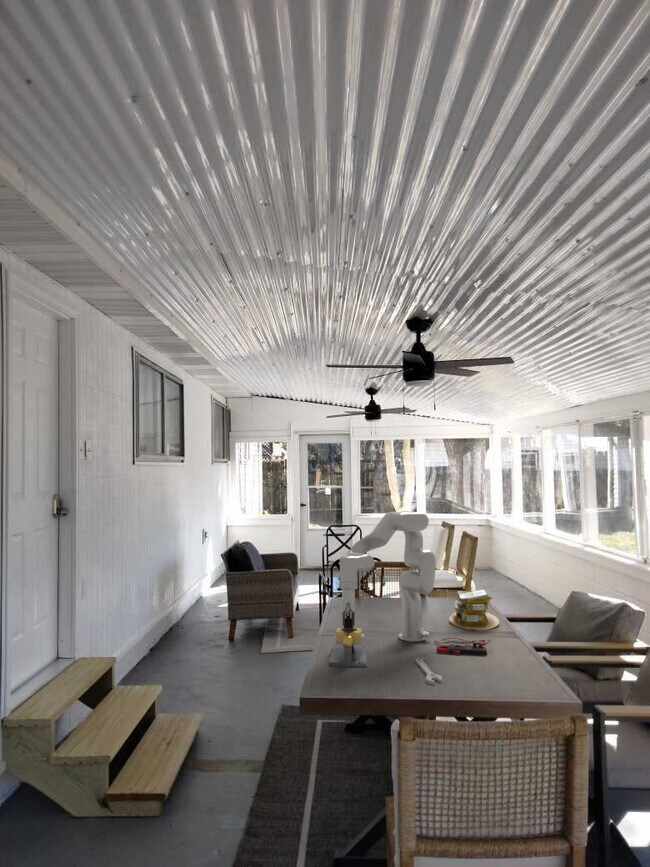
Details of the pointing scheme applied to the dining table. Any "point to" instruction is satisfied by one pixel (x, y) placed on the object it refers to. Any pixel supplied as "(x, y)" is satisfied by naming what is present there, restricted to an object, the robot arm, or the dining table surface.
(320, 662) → the dining table surface
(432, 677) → the adjustable wrench
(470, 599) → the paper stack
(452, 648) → the digital clamp meter
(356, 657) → the multicoloured piece
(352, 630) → the wedge
